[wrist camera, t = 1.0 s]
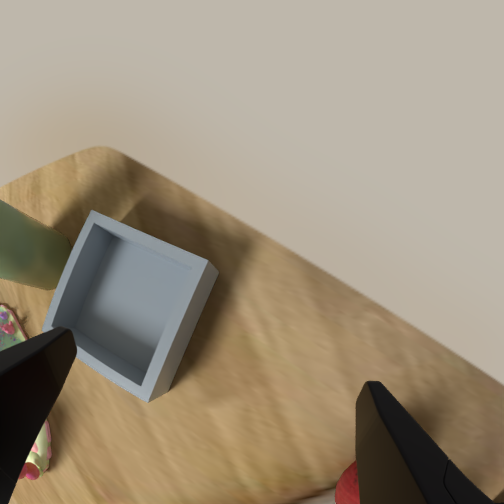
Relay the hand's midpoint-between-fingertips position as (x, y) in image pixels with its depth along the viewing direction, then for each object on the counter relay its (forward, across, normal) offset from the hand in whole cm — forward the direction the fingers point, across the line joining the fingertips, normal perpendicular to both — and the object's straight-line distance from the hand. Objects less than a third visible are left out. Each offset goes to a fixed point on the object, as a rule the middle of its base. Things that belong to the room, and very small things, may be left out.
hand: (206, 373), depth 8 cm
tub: (+12, +8, +7) cm, 16 cm away
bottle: (+14, +19, +6) cm, 24 cm away
